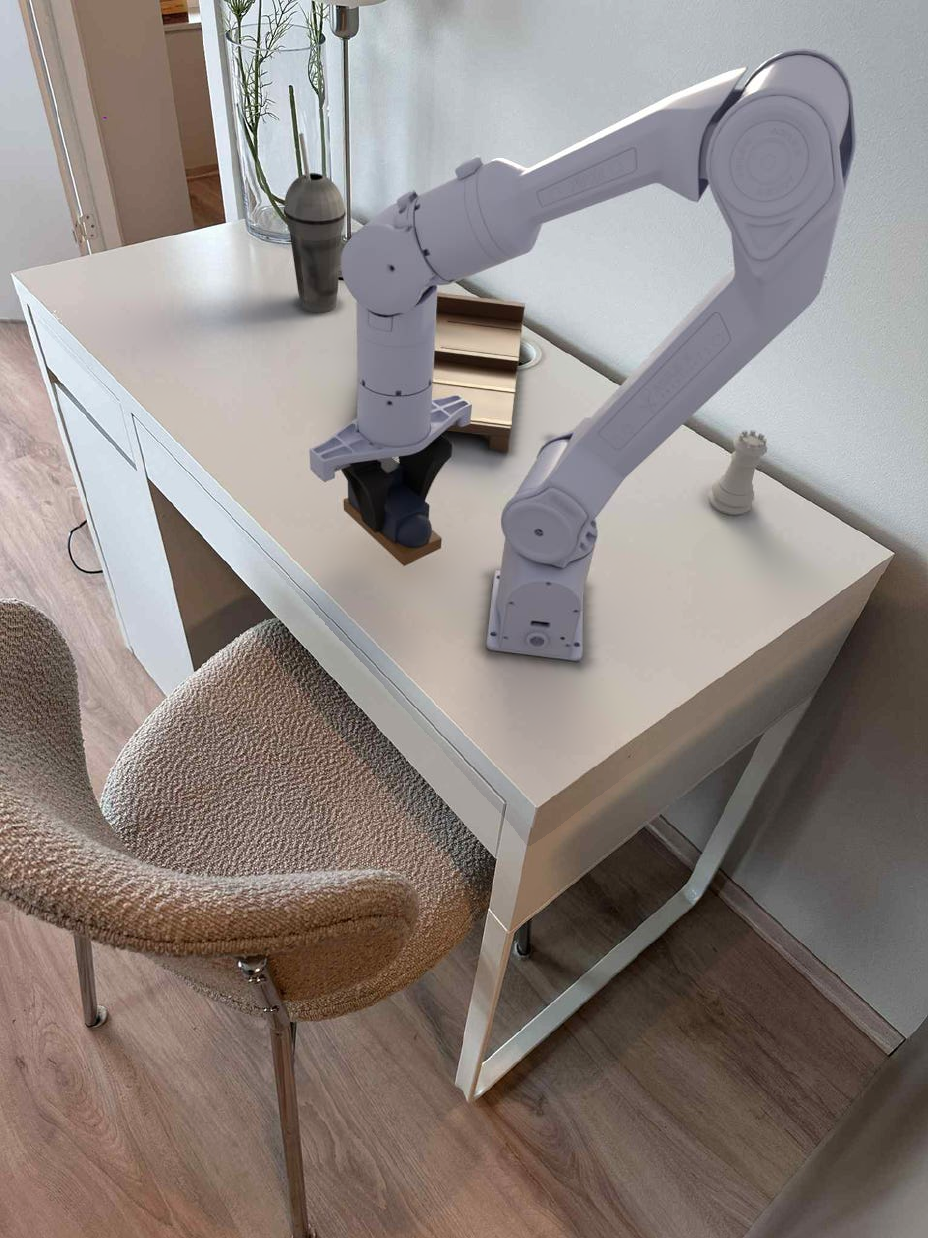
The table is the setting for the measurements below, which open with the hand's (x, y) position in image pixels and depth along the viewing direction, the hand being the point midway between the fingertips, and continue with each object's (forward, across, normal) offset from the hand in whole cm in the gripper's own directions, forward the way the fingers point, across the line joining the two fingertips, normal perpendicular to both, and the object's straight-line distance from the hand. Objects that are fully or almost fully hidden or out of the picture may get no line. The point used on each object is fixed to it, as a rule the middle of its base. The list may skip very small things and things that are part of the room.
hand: (392, 516), depth 77 cm
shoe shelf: (+5, -23, -21) cm, 31 cm away
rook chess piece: (+6, -34, +12) cm, 36 cm away
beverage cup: (+5, -21, -44) cm, 49 cm away
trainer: (+1, 0, 0) cm, 1 cm away
